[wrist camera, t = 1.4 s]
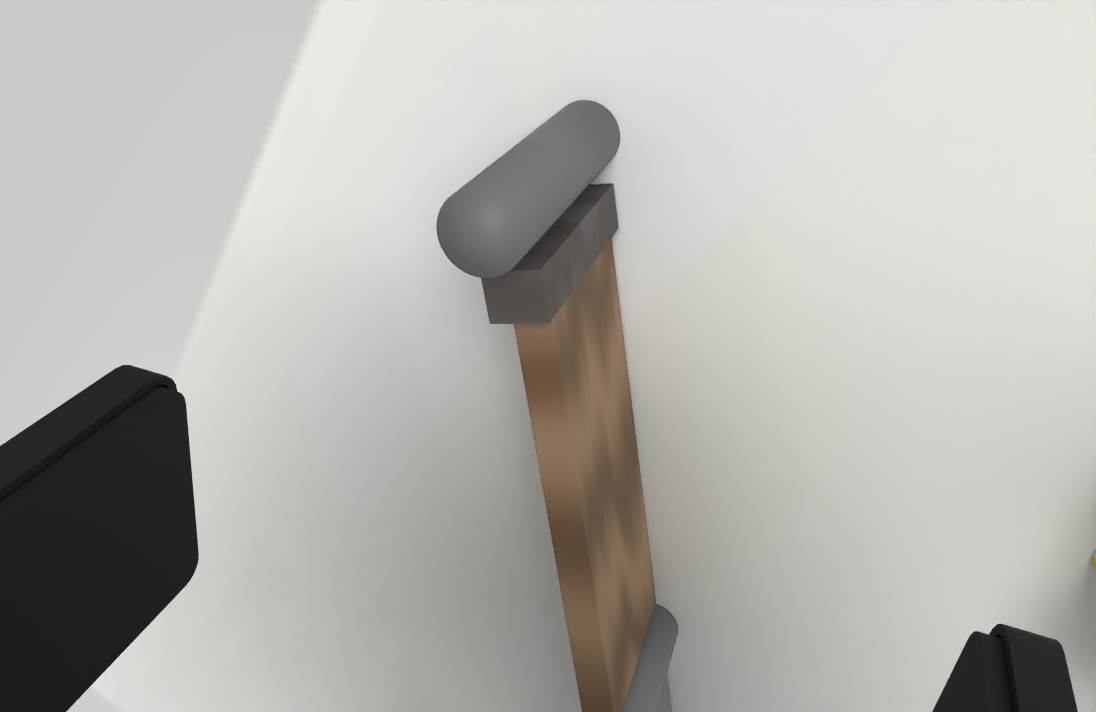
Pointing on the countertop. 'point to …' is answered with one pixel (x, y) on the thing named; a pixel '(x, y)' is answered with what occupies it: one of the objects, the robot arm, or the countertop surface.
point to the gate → (584, 438)
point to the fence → (502, 241)
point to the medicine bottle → (1094, 561)
